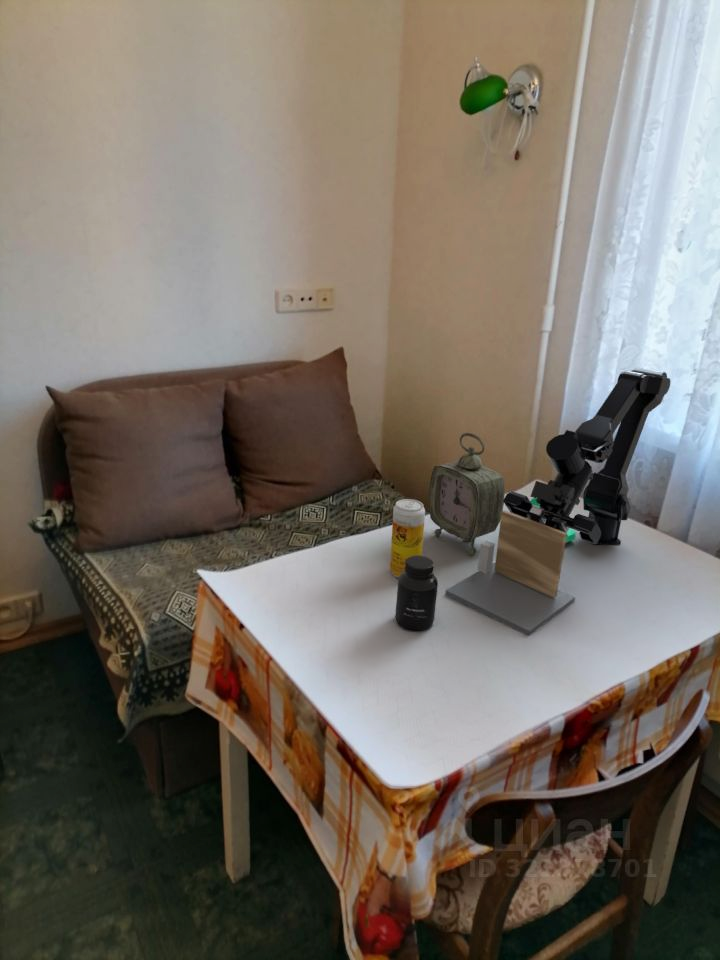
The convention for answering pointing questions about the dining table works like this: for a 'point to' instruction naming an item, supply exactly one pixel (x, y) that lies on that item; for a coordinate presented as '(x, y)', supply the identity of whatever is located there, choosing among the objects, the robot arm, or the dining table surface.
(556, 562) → the door
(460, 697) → the dining table surface
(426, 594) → the supplement bottle
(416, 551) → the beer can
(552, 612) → the housing stand
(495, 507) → the tabletop clock
